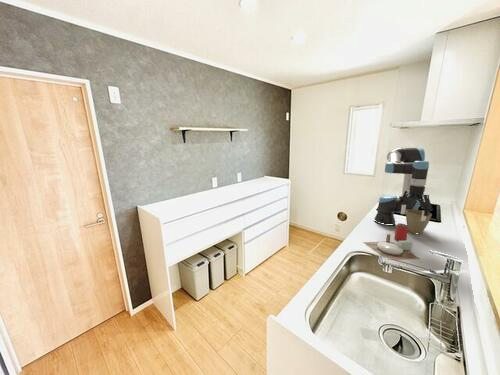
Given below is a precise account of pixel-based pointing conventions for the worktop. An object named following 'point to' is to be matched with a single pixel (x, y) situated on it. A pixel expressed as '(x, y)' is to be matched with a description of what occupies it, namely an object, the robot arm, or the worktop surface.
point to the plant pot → (416, 221)
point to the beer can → (401, 232)
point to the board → (395, 257)
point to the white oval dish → (394, 247)
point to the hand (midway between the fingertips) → (412, 217)
